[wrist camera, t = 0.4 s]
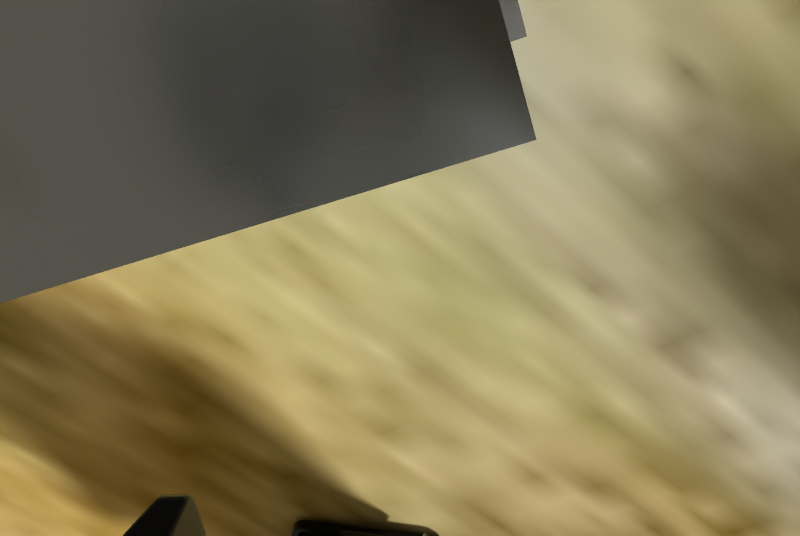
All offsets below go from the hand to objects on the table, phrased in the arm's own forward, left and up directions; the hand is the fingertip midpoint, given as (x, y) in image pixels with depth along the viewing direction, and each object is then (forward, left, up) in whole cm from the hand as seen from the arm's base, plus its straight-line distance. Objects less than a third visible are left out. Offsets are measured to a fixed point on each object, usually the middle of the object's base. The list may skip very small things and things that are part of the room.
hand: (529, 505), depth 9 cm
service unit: (+3, +6, -12) cm, 14 cm away
